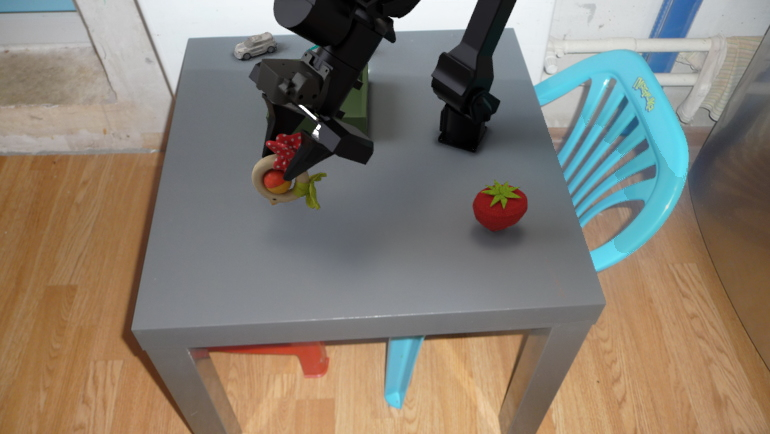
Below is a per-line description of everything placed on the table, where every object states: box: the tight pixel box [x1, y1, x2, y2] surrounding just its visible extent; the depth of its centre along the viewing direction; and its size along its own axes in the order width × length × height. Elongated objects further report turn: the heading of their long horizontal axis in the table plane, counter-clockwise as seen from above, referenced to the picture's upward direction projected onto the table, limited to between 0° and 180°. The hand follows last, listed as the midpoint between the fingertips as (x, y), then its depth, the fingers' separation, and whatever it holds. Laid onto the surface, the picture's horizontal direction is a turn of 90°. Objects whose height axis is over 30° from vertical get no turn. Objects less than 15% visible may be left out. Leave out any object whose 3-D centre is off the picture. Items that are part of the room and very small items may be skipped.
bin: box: [265, 58, 370, 137], centre depth 98 cm, size 16×16×5 cm
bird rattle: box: [251, 133, 328, 211], centre depth 74 cm, size 6×11×9 cm
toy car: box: [233, 31, 278, 61], centre depth 111 cm, size 4×8×3 cm, turn 118°
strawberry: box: [471, 178, 529, 233], centre depth 79 cm, size 6×8×10 cm
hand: (275, 169), depth 72 cm, fingers closed on bird rattle, 4 cm apart
